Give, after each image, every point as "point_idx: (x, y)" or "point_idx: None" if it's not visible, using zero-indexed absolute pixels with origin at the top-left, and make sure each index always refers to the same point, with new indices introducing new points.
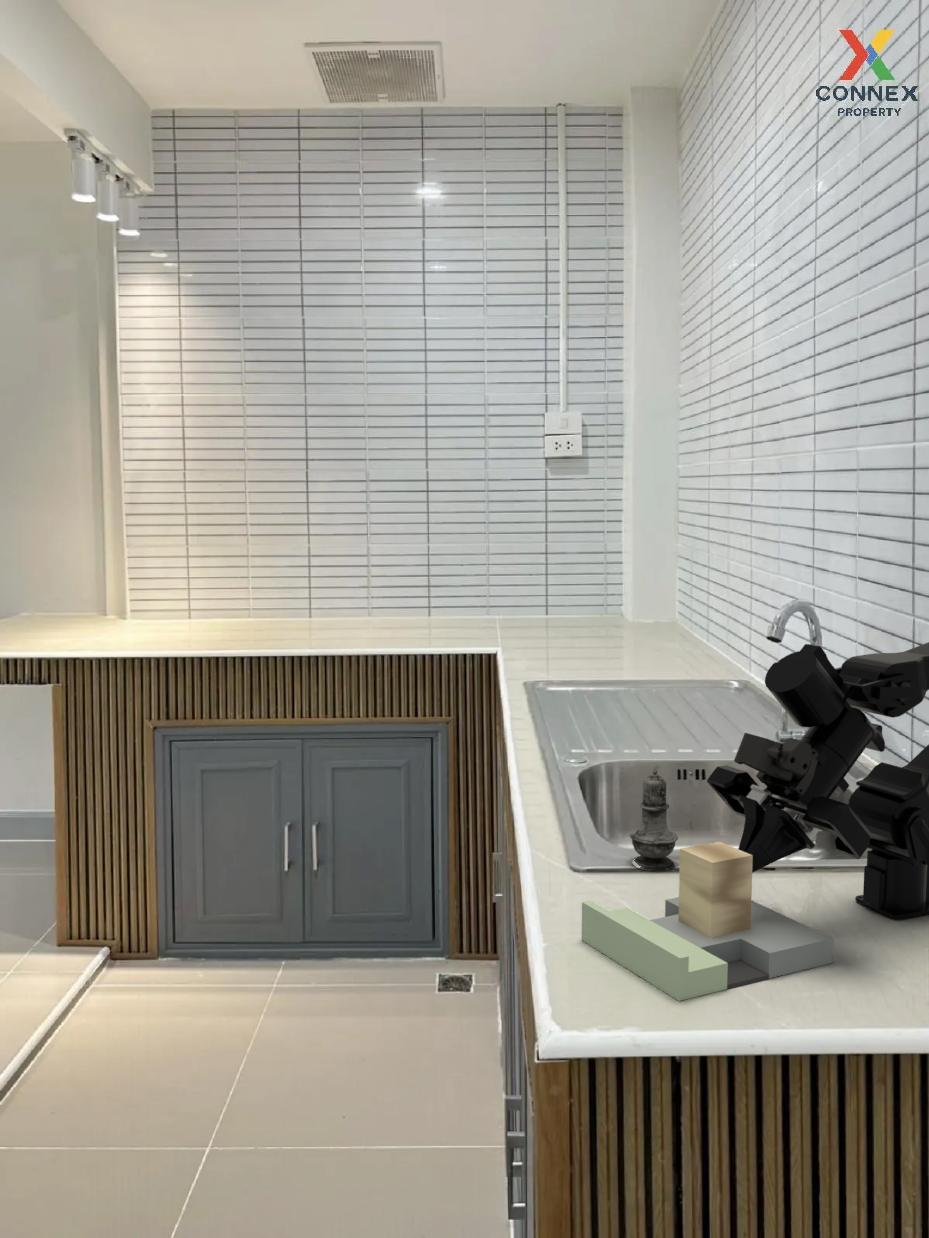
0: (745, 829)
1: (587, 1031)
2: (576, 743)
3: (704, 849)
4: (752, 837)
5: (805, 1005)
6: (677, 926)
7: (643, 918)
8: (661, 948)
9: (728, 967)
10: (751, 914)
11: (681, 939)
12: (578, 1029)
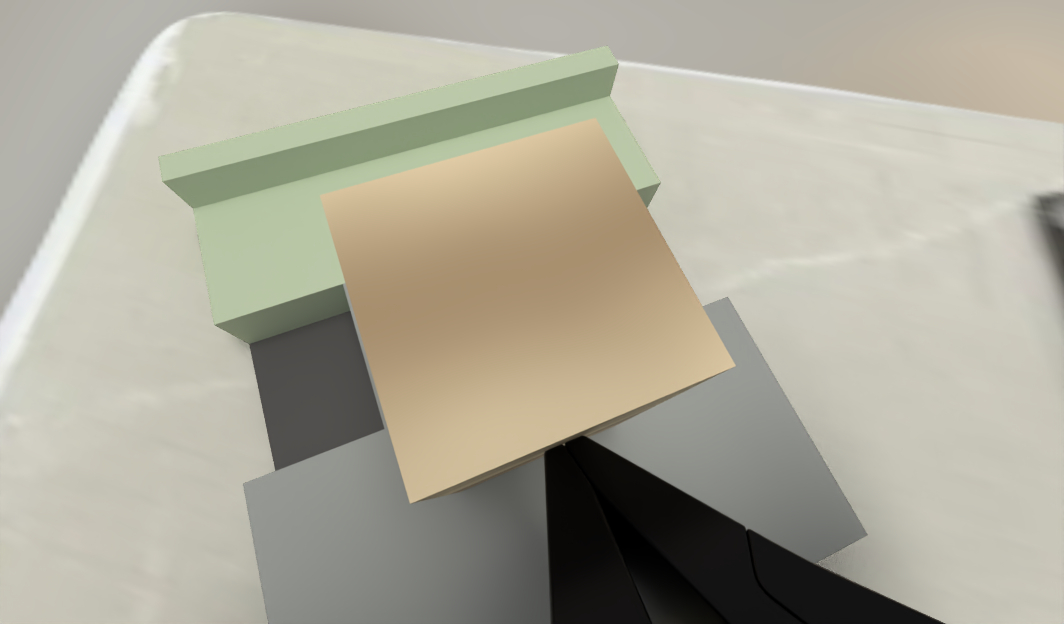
0: (822, 588)
1: (166, 48)
2: None
3: (569, 227)
4: (710, 620)
5: (87, 527)
6: None
7: None
8: (247, 136)
9: (352, 382)
10: None
11: None
12: (179, 38)
